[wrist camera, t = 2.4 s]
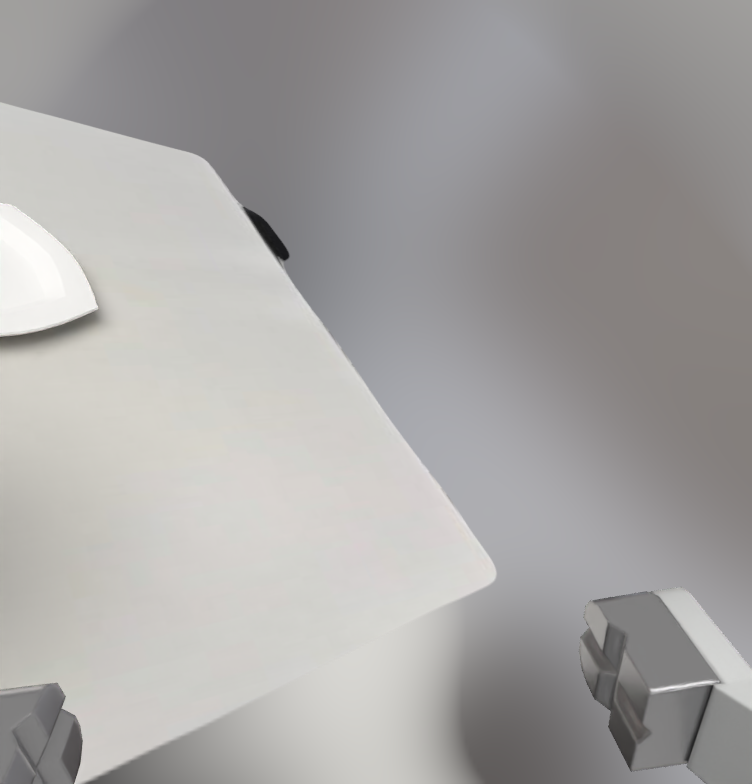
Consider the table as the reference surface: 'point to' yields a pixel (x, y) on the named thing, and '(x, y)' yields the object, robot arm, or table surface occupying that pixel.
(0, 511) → the table surface
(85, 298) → the plate
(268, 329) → the table surface
